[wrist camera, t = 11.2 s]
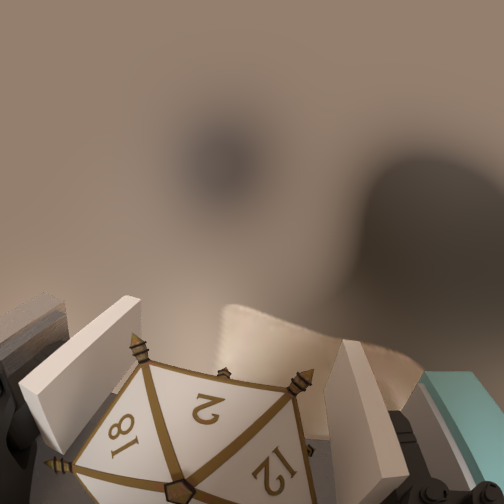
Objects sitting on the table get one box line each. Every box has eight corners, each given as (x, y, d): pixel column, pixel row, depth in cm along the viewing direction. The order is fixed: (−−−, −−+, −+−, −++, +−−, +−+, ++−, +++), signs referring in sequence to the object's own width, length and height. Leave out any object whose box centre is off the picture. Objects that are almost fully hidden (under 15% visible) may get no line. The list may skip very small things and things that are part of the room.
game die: (159, 519, 9) (64, 355, 10) (304, 463, 12) (232, 295, 13) (174, 643, 1) (-67, 390, 2) (418, 546, 4) (340, 251, 5)
